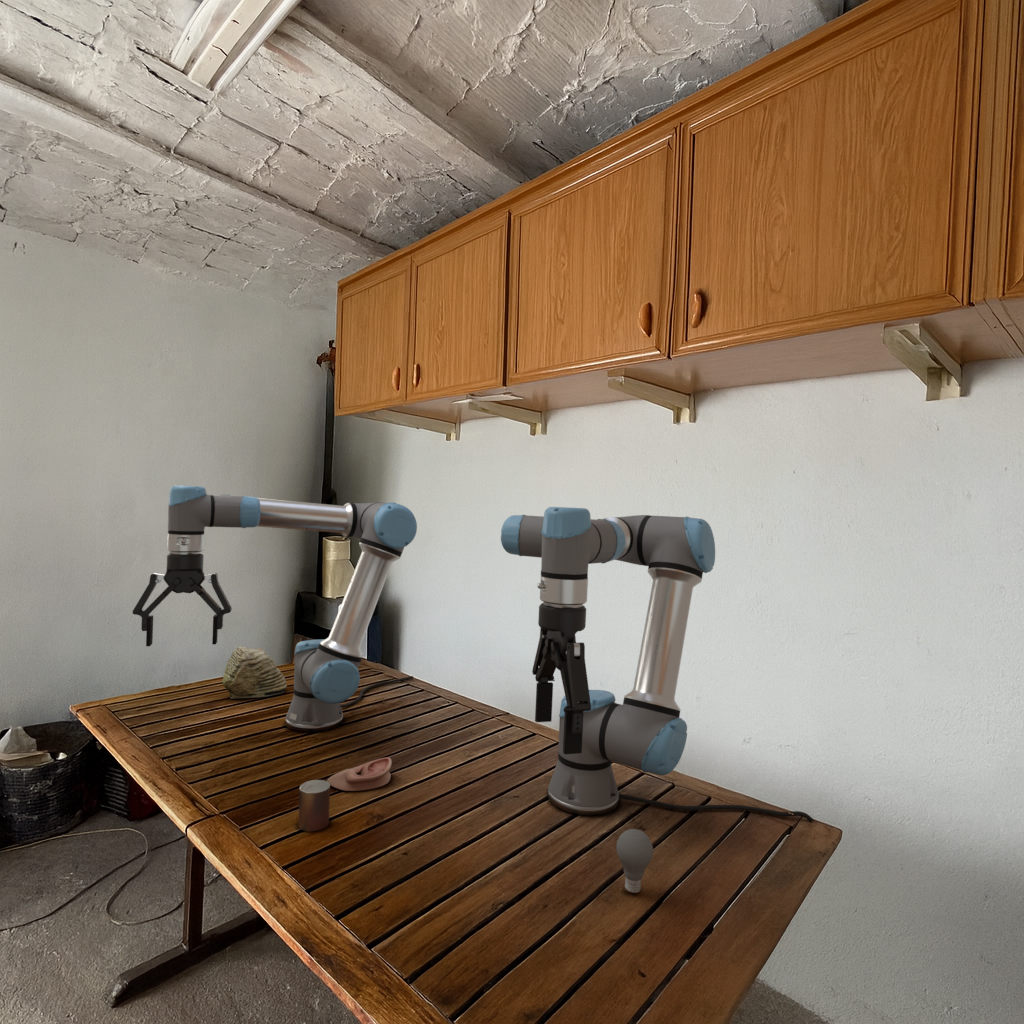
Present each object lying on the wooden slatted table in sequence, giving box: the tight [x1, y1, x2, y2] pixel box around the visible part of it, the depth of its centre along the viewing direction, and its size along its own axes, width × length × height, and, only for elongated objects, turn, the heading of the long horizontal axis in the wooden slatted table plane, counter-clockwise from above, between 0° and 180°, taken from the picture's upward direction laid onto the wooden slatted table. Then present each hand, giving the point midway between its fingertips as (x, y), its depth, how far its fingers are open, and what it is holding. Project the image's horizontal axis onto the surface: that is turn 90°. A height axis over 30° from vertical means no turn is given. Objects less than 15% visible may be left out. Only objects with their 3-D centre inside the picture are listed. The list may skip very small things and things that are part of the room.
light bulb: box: [615, 828, 654, 894], centre depth 106 cm, size 6×6×10 cm
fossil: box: [222, 646, 288, 699], centre depth 198 cm, size 9×18×15 cm, turn 132°
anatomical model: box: [326, 756, 393, 792], centre depth 142 cm, size 13×4×12 cm
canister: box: [297, 779, 331, 833], centre depth 123 cm, size 6×6×7 cm
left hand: (182, 644), depth 146 cm, fingers open, 13 cm apart
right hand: (556, 736), depth 101 cm, fingers open, 13 cm apart
